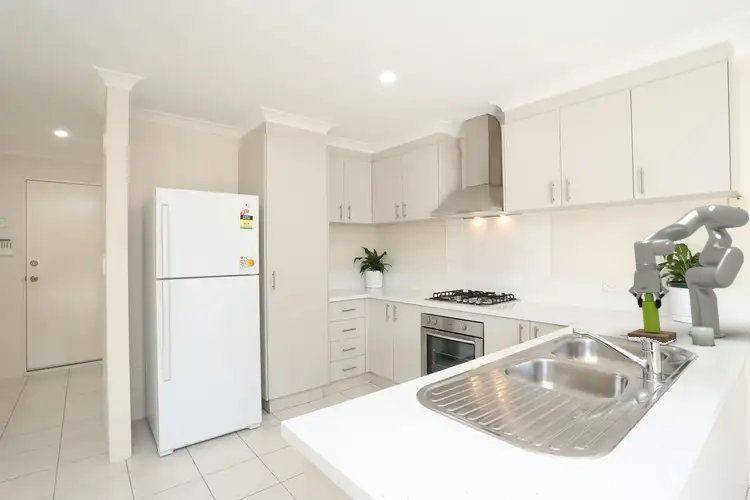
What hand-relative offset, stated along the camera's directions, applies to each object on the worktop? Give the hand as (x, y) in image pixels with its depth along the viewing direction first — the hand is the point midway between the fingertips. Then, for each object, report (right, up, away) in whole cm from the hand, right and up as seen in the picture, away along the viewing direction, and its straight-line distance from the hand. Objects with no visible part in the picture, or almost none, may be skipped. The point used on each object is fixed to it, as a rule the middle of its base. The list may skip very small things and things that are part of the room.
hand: (649, 307), depth 170 cm
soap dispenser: (+1, -11, -1) cm, 11 cm away
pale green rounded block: (+14, -14, -12) cm, 23 cm away
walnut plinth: (+1, -15, -1) cm, 15 cm away
